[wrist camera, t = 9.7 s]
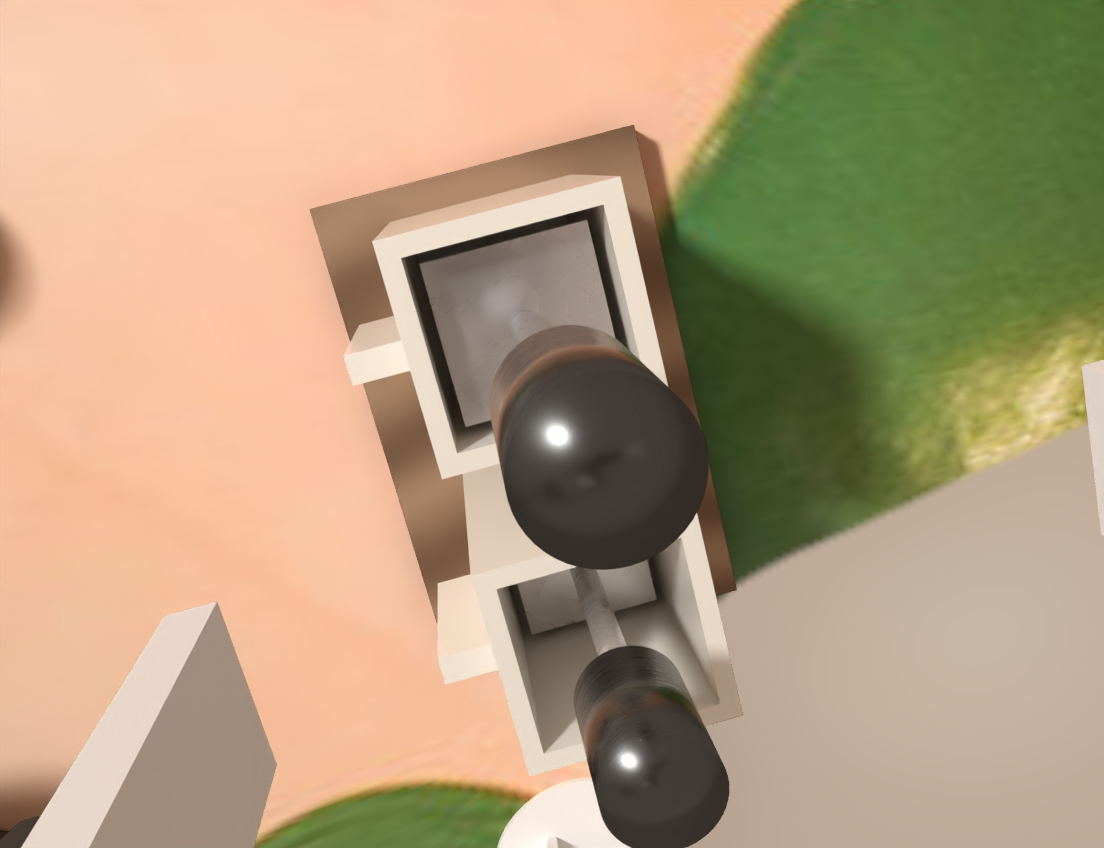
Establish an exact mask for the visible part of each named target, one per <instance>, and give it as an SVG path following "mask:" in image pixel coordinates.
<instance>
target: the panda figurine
mask: <svg viewBox="0 0 1104 848" xmlns="http://www.w3.org/2000/svg"><path fill="white" fill-rule="evenodd" d="M497 848H631V847H629V846H627V845H625V844H623V843H622V842H620V841H619V840H618V839H616V838H615V837H614V836H613V835H612V834H611V832H610V831H609V830H608V828H607V827H606V825H605V823H604V821H603V819H602V816H601V813H600V809H599V805H598V801H597V798H596V794H595V790H594V786H593V782H592V778H591V777H584V778H578V779H573V780H569V781H566V782H563V783H560V784H557V785H555V786H552V787H550V788H548V789H546V790H544V791H542V792H541V793H539V794H538V795H536V796H535V797H533V798H532V799H531V800H529V801H528V802H527V803H526V804H525V805H524V806H522V807H521V808H520V809H519V810H518V812H517V813H516V814H515V815H514V816H513V817H512V819H511V820H510V822H509V823H508V824H507V826H506V828H505V830H504V832H503V833H502V836H501V838H500V840H499V843H498V847H497Z"/></svg>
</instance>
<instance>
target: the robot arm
mask: <svg viewBox="0 0 1104 848" xmlns="http://www.w3.org/2000/svg"><path fill="white" fill-rule="evenodd" d="M1082 372H1083V381H1084V390H1085V399H1086V407H1087V416H1088V425H1089V433H1090V442H1091V450H1092V459H1093V467H1094V477H1095V484H1096V494H1097V503H1098V511H1099V519H1100V529H1101V534H1102V535H1103V536H1104V360H1101V361H1097V362H1093V363H1090V364H1086V365H1082ZM276 765H277V764H276V761H275V759H274V756H273V753H272V750H271V748H270V745H269V742H268V739H267V737H266V734H265V731H264V728H263V726H262V723H261V720H260V718H259V715H258V712H257V709H256V707H255V704H254V701H253V698H252V696H251V693H250V690H249V687H248V685H247V682H246V679H245V676H244V674H243V671H242V668H241V666H240V663H239V660H238V657H237V655H236V652H235V649H234V646H233V644H232V641H231V638H230V635H229V633H228V630H227V627H226V625H225V622H224V619H223V616H222V614H221V611H220V608H219V605H218V603H217V602H213V603H209V604H206V605H202V606H198V607H195V608H191V609H187V610H184V611H180V612H176V613H173V614H169V615H165V616H164V618H163V619H162V621H161V623H160V624H159V626H158V627H157V629H156V631H155V632H154V634H153V636H152V637H151V639H150V640H149V642H148V644H147V645H146V647H145V648H144V650H143V652H142V653H141V655H140V657H139V658H138V660H137V661H136V663H135V665H134V666H133V668H132V669H131V671H130V673H129V674H128V676H127V677H126V679H125V681H124V682H123V684H122V686H121V687H120V689H119V690H118V692H117V694H116V695H115V697H114V698H113V700H112V702H111V703H110V705H109V707H108V708H107V710H106V711H105V713H104V715H103V716H102V718H101V719H100V721H99V723H98V724H97V726H96V728H95V729H94V731H93V732H92V734H91V736H90V737H89V739H88V740H87V742H86V744H85V745H84V747H83V749H82V750H81V752H80V753H79V755H78V757H77V758H76V760H75V761H74V763H73V765H72V766H71V768H70V769H69V771H68V773H67V774H66V776H65V778H64V779H63V781H62V782H61V784H60V786H59V787H58V789H57V790H56V792H55V794H54V795H53V797H52V799H51V800H50V802H49V803H48V805H47V807H46V808H45V810H44V811H43V813H42V815H41V816H38V817H34V818H31V819H27V820H23V821H21V822H19V823H18V824H17V825H16V826H15V827H14V828H13V829H12V830H11V831H10V832H5V831H0V848H254V844H255V841H256V837H257V834H258V830H259V827H260V823H261V819H262V816H263V812H264V809H265V805H266V801H267V798H268V794H269V791H270V787H271V783H272V780H273V776H274V773H275V769H276Z"/></svg>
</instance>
